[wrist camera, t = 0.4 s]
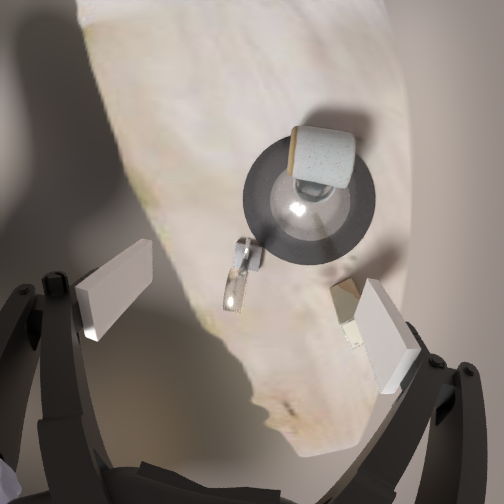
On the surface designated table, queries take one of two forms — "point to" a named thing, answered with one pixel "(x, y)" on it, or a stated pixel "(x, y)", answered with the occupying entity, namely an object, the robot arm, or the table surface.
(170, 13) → the table surface
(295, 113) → the table surface
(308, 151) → the ceramic mug
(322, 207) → the platter
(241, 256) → the dial stand
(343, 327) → the box
